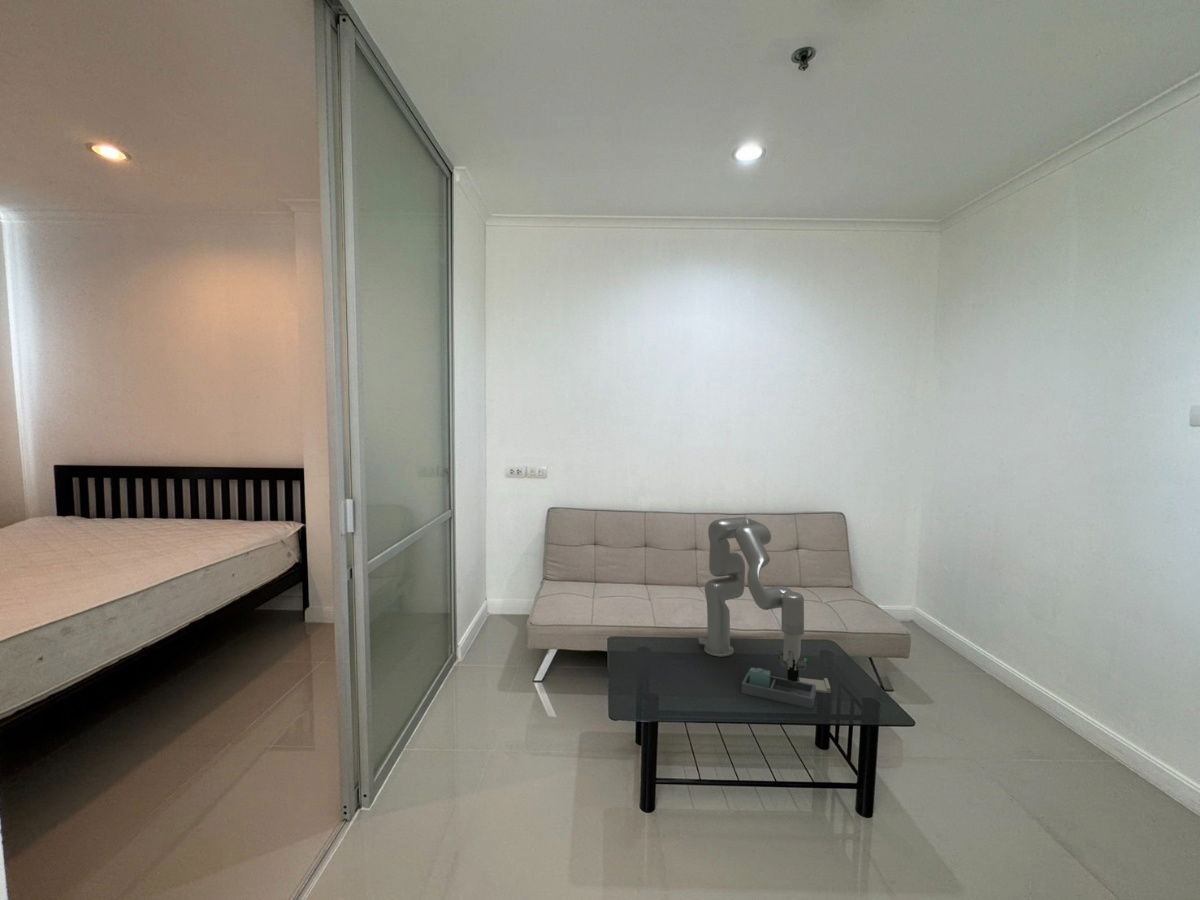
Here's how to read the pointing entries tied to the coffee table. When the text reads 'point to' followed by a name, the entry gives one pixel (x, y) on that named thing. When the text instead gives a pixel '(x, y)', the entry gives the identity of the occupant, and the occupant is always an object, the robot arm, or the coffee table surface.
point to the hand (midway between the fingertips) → (793, 678)
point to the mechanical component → (785, 664)
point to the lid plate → (818, 684)
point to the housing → (778, 688)
